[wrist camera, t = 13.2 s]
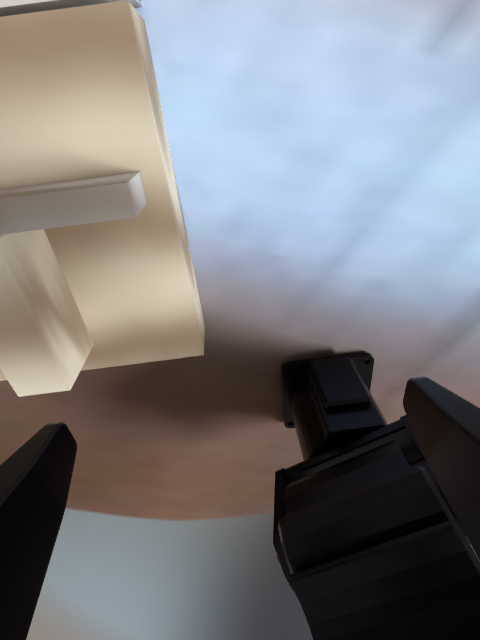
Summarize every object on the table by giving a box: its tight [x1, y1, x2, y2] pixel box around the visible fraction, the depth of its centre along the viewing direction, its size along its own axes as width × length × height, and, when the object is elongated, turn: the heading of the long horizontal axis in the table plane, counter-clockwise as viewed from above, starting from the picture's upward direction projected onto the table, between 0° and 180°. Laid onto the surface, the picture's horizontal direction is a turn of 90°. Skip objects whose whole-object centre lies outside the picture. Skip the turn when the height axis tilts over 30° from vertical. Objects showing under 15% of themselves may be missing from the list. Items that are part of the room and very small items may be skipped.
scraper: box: [0, 171, 148, 397], centre depth 14 cm, size 8×12×4 cm
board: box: [0, 0, 205, 381], centre depth 16 cm, size 15×14×3 cm
